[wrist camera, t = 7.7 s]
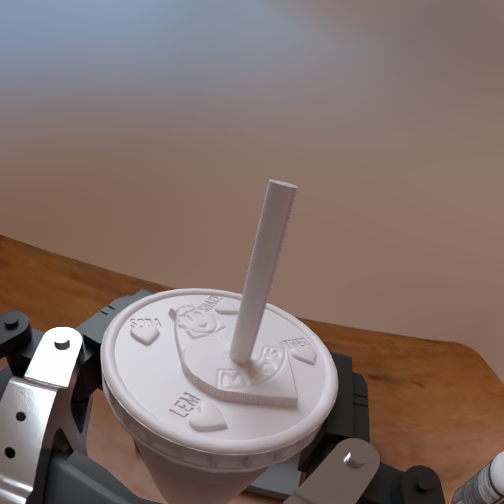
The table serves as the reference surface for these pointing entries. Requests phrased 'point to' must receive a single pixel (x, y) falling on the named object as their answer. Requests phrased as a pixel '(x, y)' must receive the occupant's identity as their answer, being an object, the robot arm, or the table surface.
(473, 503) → the pill bottle
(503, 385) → the table surface
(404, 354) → the table surface
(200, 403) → the smoothie
